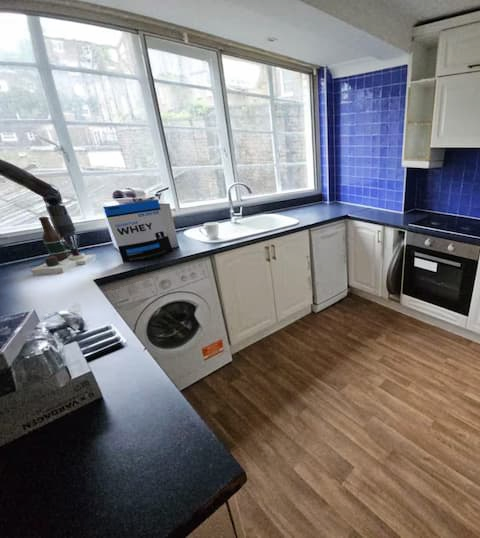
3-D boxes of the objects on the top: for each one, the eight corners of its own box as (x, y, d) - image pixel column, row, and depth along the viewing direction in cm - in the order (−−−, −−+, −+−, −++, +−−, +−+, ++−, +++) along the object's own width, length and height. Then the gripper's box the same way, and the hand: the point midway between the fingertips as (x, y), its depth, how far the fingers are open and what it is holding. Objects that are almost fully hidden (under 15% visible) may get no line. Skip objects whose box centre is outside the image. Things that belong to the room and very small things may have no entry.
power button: (71, 259, 157) (70, 256, 157) (75, 257, 161) (74, 254, 160) (79, 258, 158) (77, 255, 157) (83, 256, 161) (82, 253, 161)
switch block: (59, 266, 155) (56, 259, 153) (72, 260, 164) (69, 253, 162) (86, 264, 157) (83, 257, 155) (97, 257, 166) (94, 251, 164)
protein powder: (120, 261, 160) (100, 206, 148) (169, 249, 177) (154, 199, 166) (126, 264, 154) (105, 208, 143) (175, 252, 172) (161, 200, 160)
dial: (45, 267, 146) (41, 259, 144) (51, 263, 150) (47, 256, 148) (55, 266, 147) (51, 258, 145) (61, 263, 151) (58, 255, 149)
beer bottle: (71, 255, 170) (53, 215, 161) (70, 259, 165) (52, 217, 155) (53, 259, 166) (33, 217, 156) (51, 262, 160) (31, 219, 151)
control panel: (33, 275, 144) (30, 269, 143) (48, 268, 153) (45, 262, 152) (63, 272, 146) (61, 267, 145) (77, 265, 155) (74, 260, 154)
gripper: (63, 221, 157) (76, 251, 164) (44, 227, 145) (59, 259, 152) (79, 220, 159) (91, 250, 165) (62, 226, 147) (76, 258, 153)
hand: (76, 254), depth 159 cm, fingers closed
